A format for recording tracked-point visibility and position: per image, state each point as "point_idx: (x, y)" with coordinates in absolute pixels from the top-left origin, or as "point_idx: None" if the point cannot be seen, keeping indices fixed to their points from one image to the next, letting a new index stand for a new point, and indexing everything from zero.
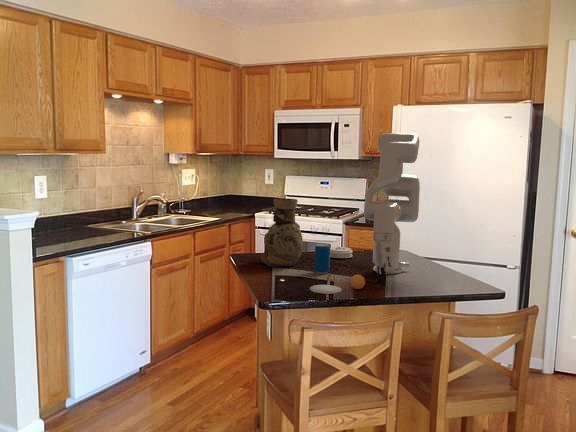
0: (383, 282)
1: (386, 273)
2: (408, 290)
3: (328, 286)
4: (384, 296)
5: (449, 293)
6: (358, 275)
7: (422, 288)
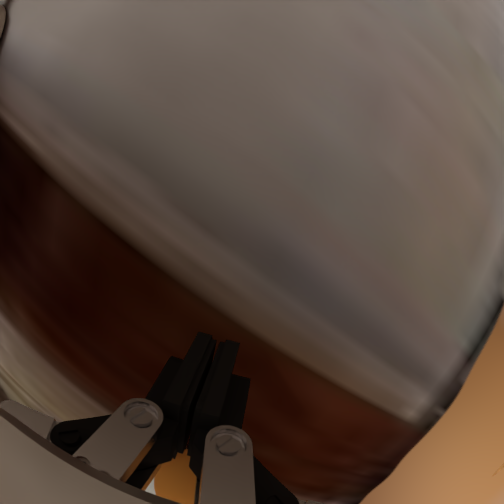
0: (248, 382)
1: (251, 444)
2: (398, 170)
3: (153, 489)
4: (406, 421)
5: (498, 4)
6: None
7: (373, 14)
